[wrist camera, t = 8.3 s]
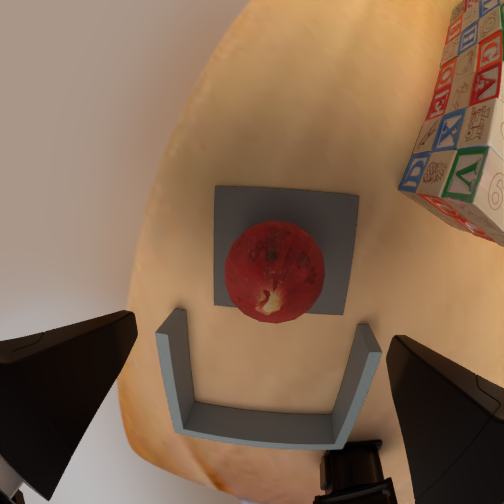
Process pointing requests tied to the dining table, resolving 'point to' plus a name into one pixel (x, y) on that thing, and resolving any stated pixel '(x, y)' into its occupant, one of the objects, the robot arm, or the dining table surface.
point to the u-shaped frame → (255, 422)
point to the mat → (300, 214)
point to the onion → (274, 272)
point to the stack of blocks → (465, 127)
